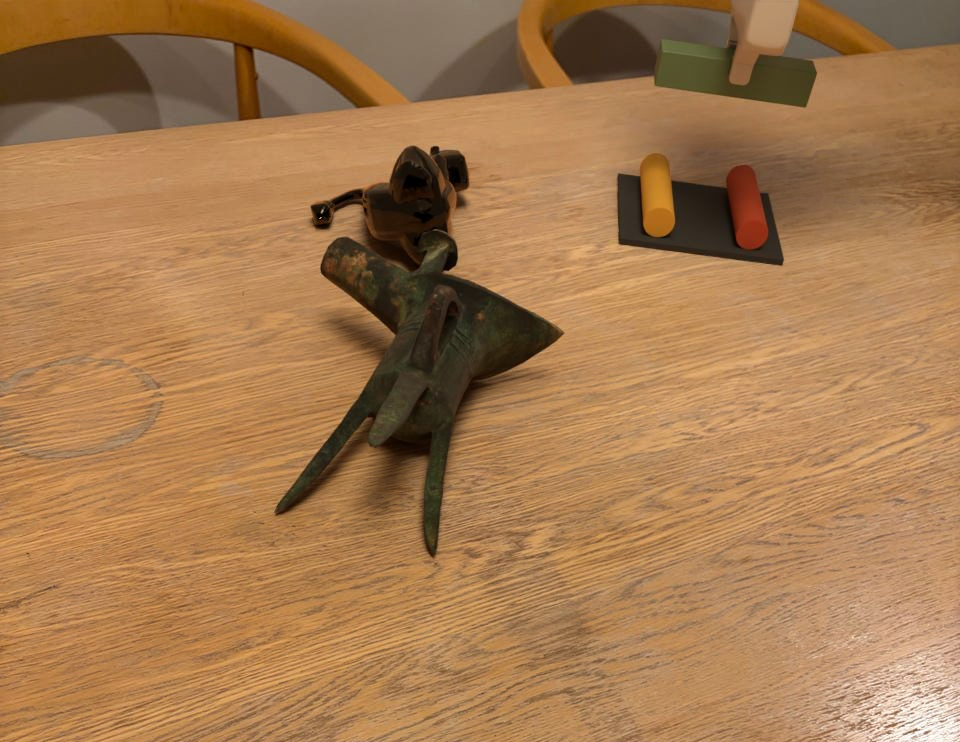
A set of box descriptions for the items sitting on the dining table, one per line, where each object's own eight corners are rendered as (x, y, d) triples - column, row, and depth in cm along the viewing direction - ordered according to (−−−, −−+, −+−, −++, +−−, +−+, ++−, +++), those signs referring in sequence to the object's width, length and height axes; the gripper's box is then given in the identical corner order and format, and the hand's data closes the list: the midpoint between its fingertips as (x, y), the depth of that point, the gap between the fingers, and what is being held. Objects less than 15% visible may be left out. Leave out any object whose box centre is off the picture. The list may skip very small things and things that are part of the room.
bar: (802, 95, 95) (813, 60, 93) (806, 108, 93) (817, 73, 91) (653, 73, 95) (661, 38, 92) (654, 86, 93) (662, 50, 90)
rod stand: (766, 198, 108) (777, 164, 105) (782, 265, 99) (794, 230, 96) (617, 178, 108) (623, 143, 105) (618, 243, 98) (626, 207, 96)
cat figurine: (308, 292, 92) (354, 232, 106) (457, 271, 89) (484, 213, 103) (276, 176, 86) (329, 129, 100) (434, 150, 83) (467, 106, 97)
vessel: (485, 581, 68) (572, 350, 82) (466, 449, 59) (568, 215, 73) (231, 541, 73) (355, 329, 87) (177, 413, 64) (325, 200, 78)
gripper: (843, -69, 76) (782, 124, 86) (806, -137, 89) (758, 37, 99) (759, -81, 75) (708, 114, 86) (735, -147, 89) (694, 28, 99)
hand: (734, 72), depth 93 cm, fingers closed on bar, 3 cm apart
